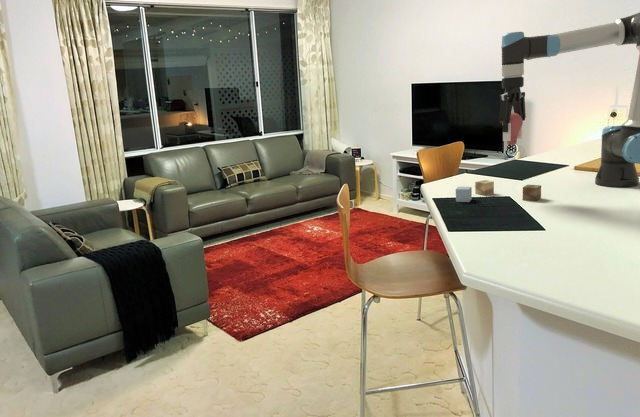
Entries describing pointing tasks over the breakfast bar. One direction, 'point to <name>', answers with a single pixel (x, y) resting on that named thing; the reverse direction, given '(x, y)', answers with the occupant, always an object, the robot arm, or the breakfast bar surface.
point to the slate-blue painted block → (463, 194)
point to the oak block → (484, 187)
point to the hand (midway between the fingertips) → (512, 139)
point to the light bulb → (515, 127)
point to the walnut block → (532, 192)
